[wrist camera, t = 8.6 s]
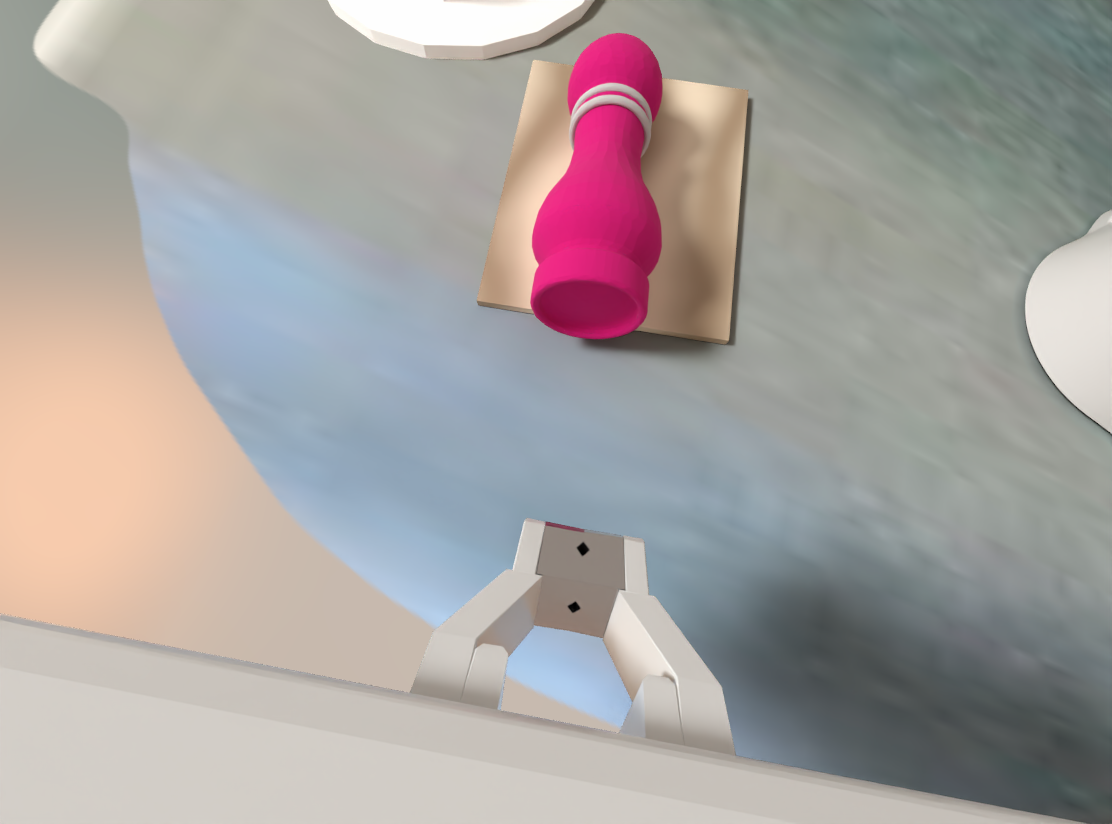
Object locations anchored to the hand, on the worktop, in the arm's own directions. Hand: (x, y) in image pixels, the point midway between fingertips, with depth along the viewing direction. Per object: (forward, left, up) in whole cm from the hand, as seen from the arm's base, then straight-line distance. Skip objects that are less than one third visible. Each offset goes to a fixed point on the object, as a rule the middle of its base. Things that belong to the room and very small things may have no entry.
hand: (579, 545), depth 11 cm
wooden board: (0, -23, -14) cm, 27 cm away
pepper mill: (+1, -11, -10) cm, 15 cm away
